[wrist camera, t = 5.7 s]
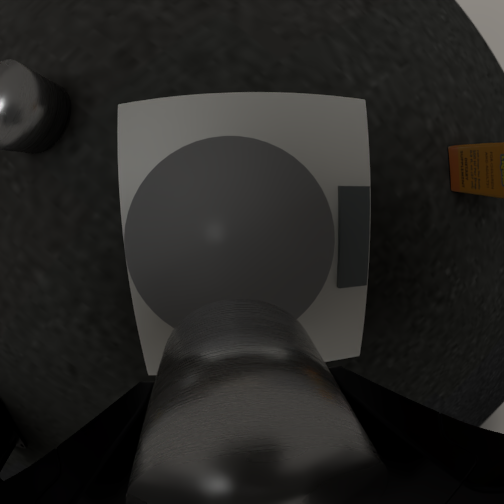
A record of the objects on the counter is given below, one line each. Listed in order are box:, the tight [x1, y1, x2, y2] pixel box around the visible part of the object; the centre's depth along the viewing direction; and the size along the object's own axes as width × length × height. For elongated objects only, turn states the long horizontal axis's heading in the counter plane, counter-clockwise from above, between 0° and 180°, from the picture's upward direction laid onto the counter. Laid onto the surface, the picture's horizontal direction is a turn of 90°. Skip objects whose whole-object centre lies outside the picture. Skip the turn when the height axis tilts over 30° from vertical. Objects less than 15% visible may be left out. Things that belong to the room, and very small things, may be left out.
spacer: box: [125, 299, 389, 504], centre depth 6 cm, size 4×4×5 cm
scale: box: [118, 92, 371, 375], centre depth 14 cm, size 14×12×3 cm
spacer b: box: [0, 60, 71, 154], centre depth 10 cm, size 4×4×5 cm
